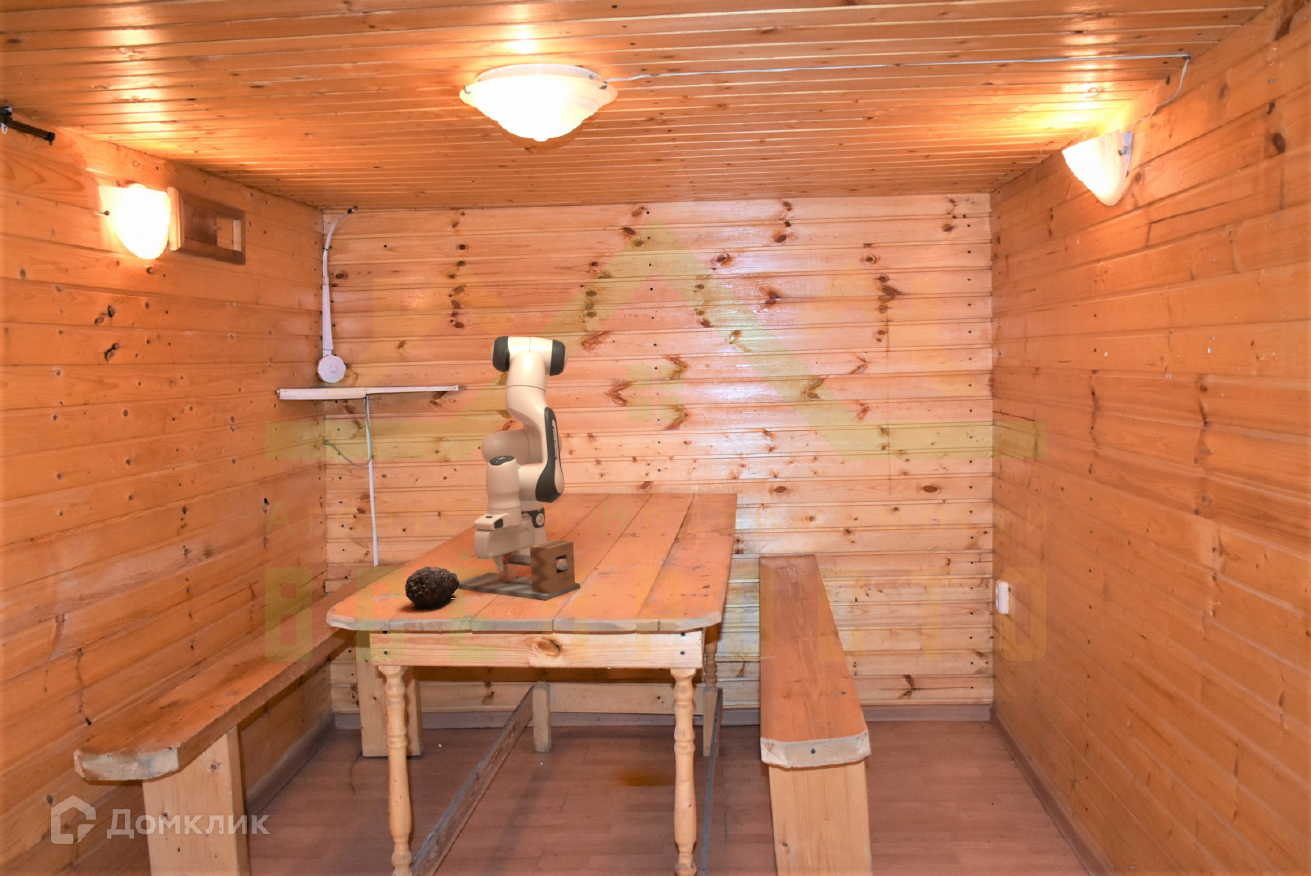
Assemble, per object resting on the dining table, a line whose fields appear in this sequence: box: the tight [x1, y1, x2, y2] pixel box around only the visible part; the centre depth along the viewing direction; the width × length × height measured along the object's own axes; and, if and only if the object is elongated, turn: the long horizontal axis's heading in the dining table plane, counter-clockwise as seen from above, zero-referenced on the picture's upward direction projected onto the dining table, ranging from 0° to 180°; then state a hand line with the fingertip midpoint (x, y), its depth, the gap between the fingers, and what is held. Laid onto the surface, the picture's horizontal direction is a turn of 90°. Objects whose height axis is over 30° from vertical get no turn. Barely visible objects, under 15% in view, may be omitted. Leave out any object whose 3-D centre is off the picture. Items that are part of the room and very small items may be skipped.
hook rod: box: [498, 552, 568, 581], centre depth 241 cm, size 21×3×7 cm, turn 57°
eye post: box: [457, 539, 581, 601], centre depth 245 cm, size 32×14×13 cm, turn 57°
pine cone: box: [404, 566, 460, 611], centre depth 232 cm, size 10×18×10 cm, turn 173°
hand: (507, 569), depth 246 cm, fingers closed on hook rod, 3 cm apart
